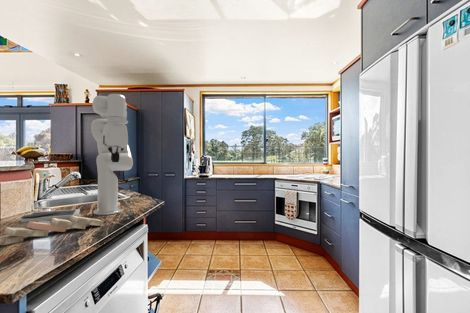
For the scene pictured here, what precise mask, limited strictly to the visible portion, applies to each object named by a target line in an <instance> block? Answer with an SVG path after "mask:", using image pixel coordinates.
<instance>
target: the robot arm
mask: <svg viewBox="0 0 470 313" xmlns="http://www.w3.org/2000/svg"><path fill="white" fill-rule="evenodd" d="M127 108H128V105H127V102H126V96H125V95H123V94H119V93H110V94H108V95H107V96H106V95H96V96H95V97H94V98H93V100H92V110H93V112H94V113H95V114H97V115H99V116H100V117H101V118H96V119H93V120H92V122H91V125H90V127H91V130H90V131H91V135H92V136H93V139H94V140H95V141H96V145H97V153H98V155H97V156H96V160H95V161H96V167H97V200H96V201H97V206H96V208H97V209H95V210H93V214H94V215H97V216H98V215H99V216H107V215H114V214H115V215H116V214H119V213H121V212H122V209H121V208H119V206H121V202H118V201H119V200H118V198H119V197H118V196H119V179H118V177H117V175H116V173H114V172H115V171H122V172H123V171H129V170H131V169H132V168H133V166H134V161H133V160H134V159H133V157H132V155H133V154H132V153H131V149H130V146H129V134H128V127H127V125H126V124H128V123H129V121H128V120H127V117H128V112H127Z"/></svg>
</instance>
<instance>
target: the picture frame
mask: <svg viewBox="0 0 470 313" xmlns="http://www.w3.org/2000/svg"><path fill="white" fill-rule="evenodd" d="M80 212H81V210H80V208H75V209H73V208H72V209H59V210H47V211H46V210H45V211H43V210H42V211H32V212H29V213H28V214H26V215H22V216H21V217H20V223H28V222H27V221H31V222H42V221H41V220H43V221H51V220H52V218H57V219H64V220H70V219H71V216H78V215H79V214H80Z"/></svg>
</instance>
